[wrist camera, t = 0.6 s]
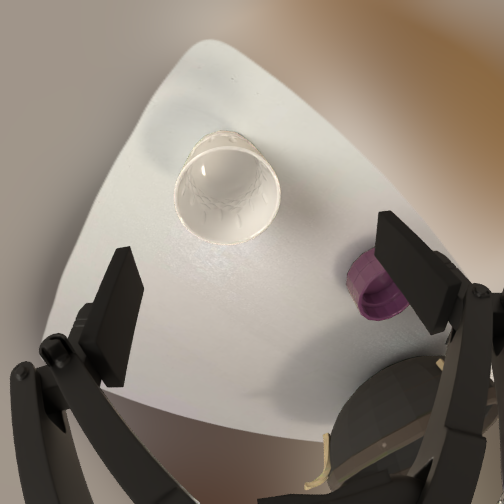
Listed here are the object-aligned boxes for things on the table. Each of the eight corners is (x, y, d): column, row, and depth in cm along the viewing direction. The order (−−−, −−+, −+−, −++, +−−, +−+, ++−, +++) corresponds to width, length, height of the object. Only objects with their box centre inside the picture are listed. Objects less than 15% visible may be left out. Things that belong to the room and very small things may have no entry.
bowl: (473, 351, 59) (512, 414, 43) (360, 431, 70) (381, 495, 54) (429, 279, 44) (500, 374, 27) (268, 399, 55) (285, 497, 38)
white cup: (170, 174, 32) (155, 215, 23) (212, 109, 29) (211, 125, 20) (233, 210, 35) (241, 261, 26) (277, 151, 32) (302, 184, 23)
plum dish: (347, 247, 39) (363, 270, 35) (407, 239, 39) (426, 259, 35) (342, 302, 44) (354, 326, 40) (396, 291, 44) (411, 313, 40)
